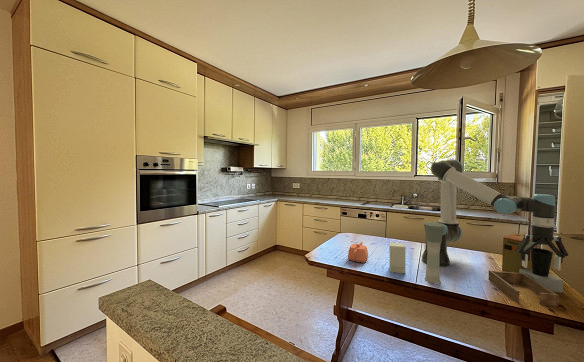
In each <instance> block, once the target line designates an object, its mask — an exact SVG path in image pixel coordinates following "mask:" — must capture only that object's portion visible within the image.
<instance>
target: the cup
mask: <svg viewBox="0 0 584 362" xmlns="http://www.w3.org/2000/svg"><path fill="white" fill-rule="evenodd" d="M553 254H554V251H551V250H549V249H546V248H545V249H544V248H538V247H537V248H532V249H531V261H532V273H533V274H535V275H539V276H544V277H548V275H549V273H550V269H551V265H552V264H551V263H552V259H553Z"/></svg>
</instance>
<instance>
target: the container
mask: <svg viewBox="0 0 584 362" xmlns="http://www.w3.org/2000/svg"><path fill="white" fill-rule="evenodd" d="M423 226H424V227H423V228H424V233H425V238H426V241H427V251H428V253H427V263H426V269H425V278H424V280H425V281H426V282H427V281H428V282H427V283H430V282H431V283H430V284H433V283H439V284H441V283H442V282H441V276H440V275H441V274H440V273H441V272H440V269H441V268H440V266H439V253H440V245H441V242H442V235H443V232H444V228H445V225H444V224H441V223H438V222H435V221H426V222H425V221H424V222H423Z"/></svg>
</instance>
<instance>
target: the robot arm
mask: <svg viewBox="0 0 584 362" xmlns="http://www.w3.org/2000/svg"><path fill="white" fill-rule="evenodd" d="M463 171H464V166H463V164H462V162H460V161H459V160H457V159H453V158H440V159H436V160H434V161H433V163H431V166H430V172H431V174H432V175H433V176H434V177H436V178H437V180H438V181H439V182H440V218H438V220H437V223H441V224H444V225H445V228H444V232H443V235H442V242H441V245H440V253H439V267H440V266H441V267H442V268H443V267H444V268H445V267H449V266H450V264H451V260H450V258H449V254H448V244H451V243H454V242H457V241H458V240H460V239H461V237H462V235H463V229H462V228H461V227H460V223H459V221H458V220H457V188H459V189H460V190H463V192H466V193H468V194H470V195H472V196H473V197H475V198H477V199H479V200H480V201H482V202H484V203H486V204H488V205H490V206H491V207H494V209H495V210H494V211H496V212H498V213H499V214H504V215H507V214H508V215H509V214H513V213H516V212H526V213H532V216H531V217H532V219H531V224H532V225H531V234H526V233H524V234H523V235H524V238H523V240H522V241H521V243H520V244H519V246H518V247H517V249H516V251H517V252H519V253H520V259H521V260H522V266H523V267H525V268H527V264H528V255H527V253H528V252H529V251H530V250H531V249H532V248H533V247H534V246H536V245H537V246H538V245H544V246H548V247H549V248H550V249H551V250H552V252H553V253H554V254H555V255H554V260H553V261H554V262H553V269H555V270H557V271H561V268H562V267H561V264H563V259H565V258H566V257H569V253H568V251H567V249H566V248H565V246H564V244H563V241H562V237H561V236H558V235H554V233H555V227H554V226H555V216H556V215H555V214H556V213H555V212H556V205H557V204H556V197H555V196H554V195H553V194H545V193H542V194H541V193H535V194H533V196H532V197H525V196H514V195H504V194H502V193H500V192H499V191H497V190H496V189H493V188H491V187H490V186H488V185H485V184H484V183H482V182H479V181H477V180H476V179H474V178H472V177H470V176H467V175H466V174H464V173H463ZM553 235H554V236H553ZM531 238H532V240H531V241H530V243H529V244H528V242H529V240H530V239H531ZM553 241H554V242H553ZM424 242H425V243H424V244H425V248H424V251H423V253H422V255H421V261H422V262H423V263H425V264H427V253H428V251H427V241H426V237H425V241H424ZM554 243H555V244H554ZM527 244H528V245H527Z"/></svg>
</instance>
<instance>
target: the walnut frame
mask: <svg viewBox="0 0 584 362" xmlns="http://www.w3.org/2000/svg"><path fill="white" fill-rule="evenodd" d="M487 278H488V279H487V280H488V281H490V282H491V283H492V284H493V285H495V287H496V288H498V289H499V290H501V291H502V292H503V293H504V294H505V295H507V296H508V297H509V298H510V299H512V300H513V301H514V302H515V301H516V302H515V303H520V291H519V290H518V289H517V288H516V287H514V286H513V285H511V283H513V284H514V283H515V284H521V285H523V286H525V287H526V288H528V289H529V290H531V291H532V292H534V293H535V294H536V295H537V296H539V303H538V304H539V305H541V306H548V307H549V306H550V307H555V308H556V307H558V308H559V302H560V294H558V293H557V292H553V291H551V290H550V289H548V288H546V287H545V286H543V285H541V284H540V283H538V282H536V281H535V280H533V279H532V278H530V277H528V276H527V275H525V274H523V273H514V272H503V271H502V270H488V277H487Z"/></svg>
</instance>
